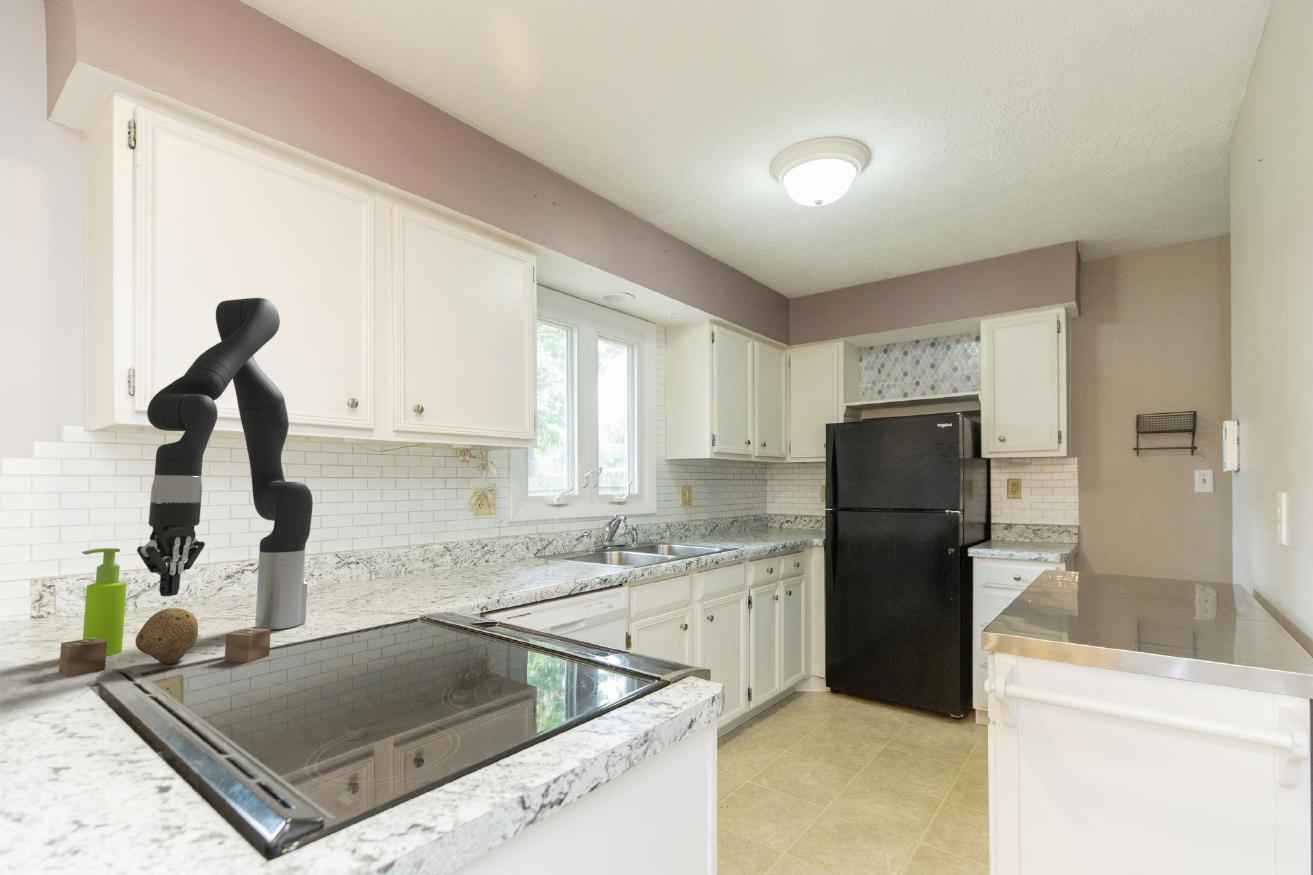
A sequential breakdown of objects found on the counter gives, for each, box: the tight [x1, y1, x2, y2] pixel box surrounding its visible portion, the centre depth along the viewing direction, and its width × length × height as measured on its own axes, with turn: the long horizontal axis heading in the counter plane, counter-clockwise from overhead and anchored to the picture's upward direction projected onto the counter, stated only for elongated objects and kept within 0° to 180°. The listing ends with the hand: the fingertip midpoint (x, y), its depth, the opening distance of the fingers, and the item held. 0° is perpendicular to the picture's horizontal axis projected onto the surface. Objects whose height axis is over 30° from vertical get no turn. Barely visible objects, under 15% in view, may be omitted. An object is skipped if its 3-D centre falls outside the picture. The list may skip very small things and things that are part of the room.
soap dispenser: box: [81, 547, 128, 657], centre depth 122 cm, size 6×7×20 cm
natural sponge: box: [135, 607, 199, 665], centre depth 115 cm, size 9×9×10 cm
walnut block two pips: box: [224, 627, 272, 664], centre depth 119 cm, size 5×5×5 cm
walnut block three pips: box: [58, 637, 107, 678], centre depth 111 cm, size 5×5×5 cm
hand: (168, 595), depth 116 cm, fingers closed
